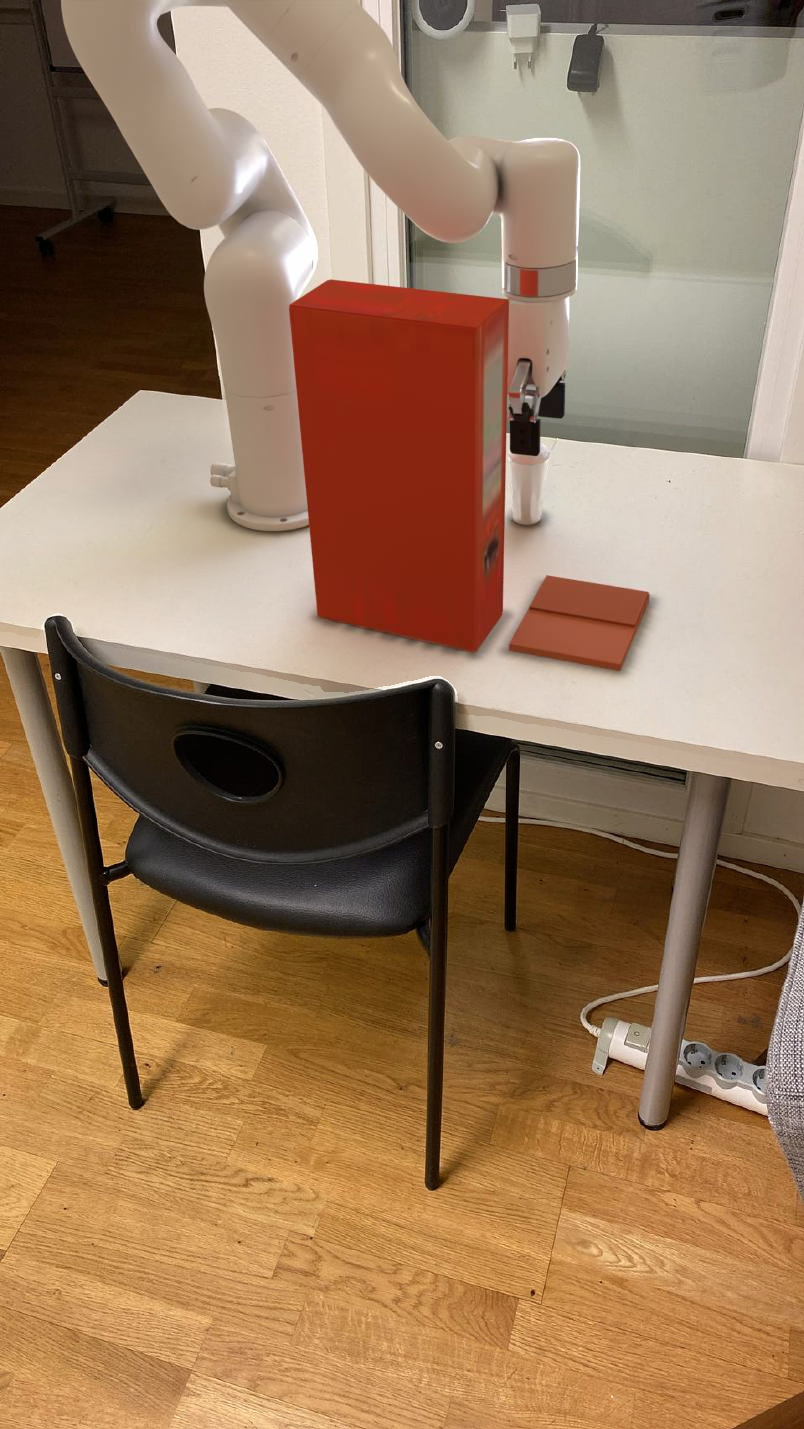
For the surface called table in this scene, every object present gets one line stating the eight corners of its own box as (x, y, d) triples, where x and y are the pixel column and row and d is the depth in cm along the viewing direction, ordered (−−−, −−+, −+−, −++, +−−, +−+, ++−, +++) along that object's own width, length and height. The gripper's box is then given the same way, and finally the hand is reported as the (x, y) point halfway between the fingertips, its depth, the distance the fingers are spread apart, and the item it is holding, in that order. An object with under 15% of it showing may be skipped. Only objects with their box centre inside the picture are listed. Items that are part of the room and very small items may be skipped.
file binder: (353, 580, 126) (330, 277, 107) (503, 612, 120) (509, 297, 101) (317, 619, 121) (286, 306, 101) (474, 654, 114) (473, 329, 95)
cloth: (508, 650, 115) (508, 641, 114) (545, 583, 124) (545, 574, 124) (620, 671, 111) (620, 661, 111) (649, 600, 121) (650, 591, 120)
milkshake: (551, 529, 133) (555, 447, 127) (504, 526, 134) (506, 445, 128) (555, 510, 137) (559, 430, 130) (509, 507, 138) (511, 427, 131)
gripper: (528, 248, 126) (527, 400, 136) (476, 302, 113) (480, 465, 124) (597, 251, 123) (591, 406, 134) (552, 307, 111) (549, 473, 121)
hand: (537, 434), depth 129 cm, fingers open, 9 cm apart
